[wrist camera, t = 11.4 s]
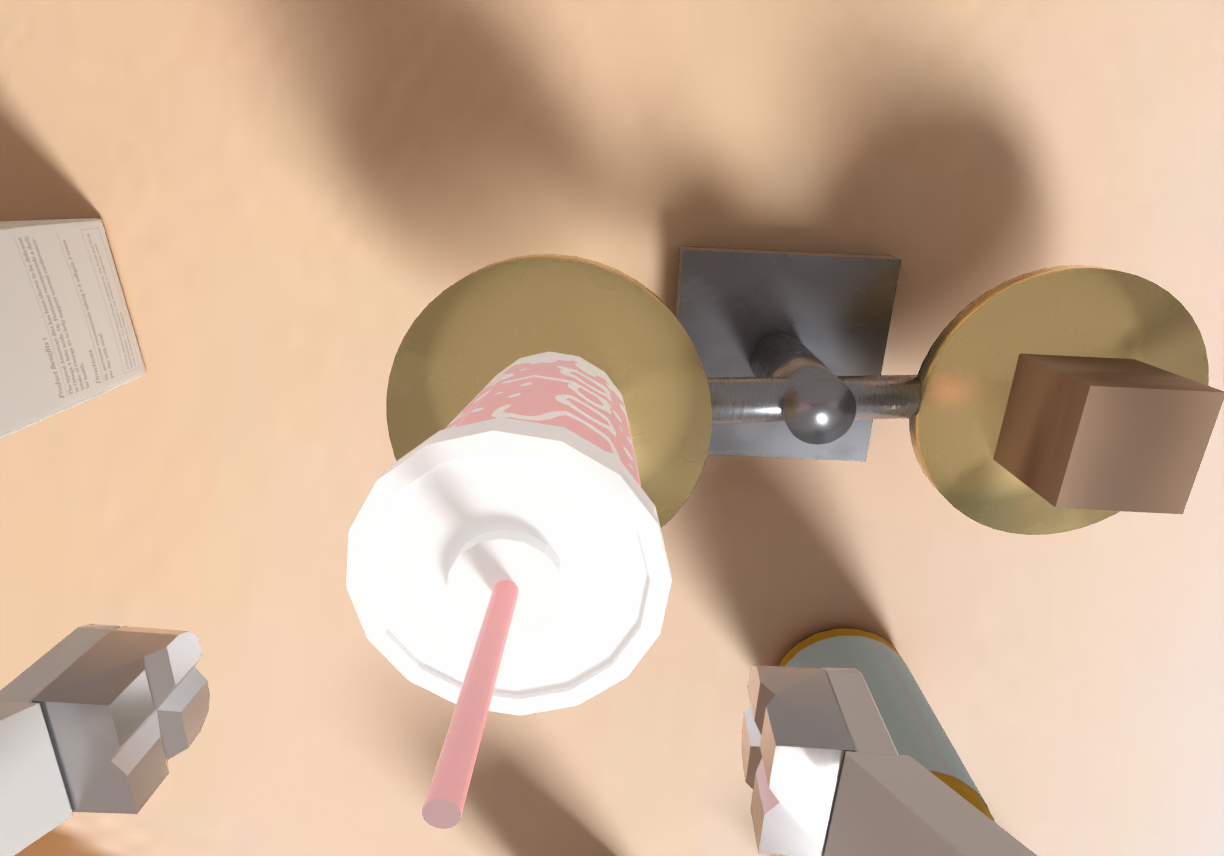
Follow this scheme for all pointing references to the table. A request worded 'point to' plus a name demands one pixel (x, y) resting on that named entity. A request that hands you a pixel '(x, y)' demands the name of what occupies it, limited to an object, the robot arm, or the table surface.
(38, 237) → the supplement box
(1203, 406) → the walnut block
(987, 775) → the table surface
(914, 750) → the bottle
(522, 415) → the beverage cup
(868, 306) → the balance
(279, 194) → the table surface
